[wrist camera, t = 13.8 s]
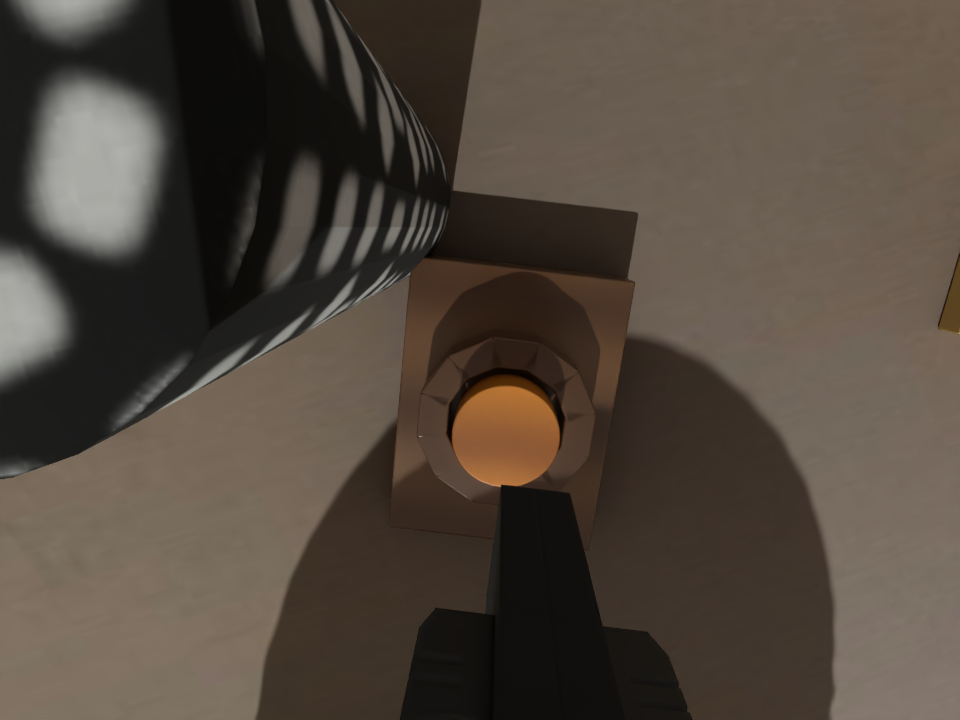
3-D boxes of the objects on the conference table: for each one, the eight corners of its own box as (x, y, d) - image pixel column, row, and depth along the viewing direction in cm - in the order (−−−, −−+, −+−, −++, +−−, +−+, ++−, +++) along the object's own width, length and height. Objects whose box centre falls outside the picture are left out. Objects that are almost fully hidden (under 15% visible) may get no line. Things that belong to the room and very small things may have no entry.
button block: (418, 252, 25) (404, 257, 21) (624, 277, 25) (647, 286, 21) (396, 504, 28) (379, 548, 24) (582, 526, 28) (595, 575, 24)
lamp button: (460, 367, 23) (457, 378, 21) (562, 379, 23) (567, 392, 21) (450, 462, 24) (446, 481, 22) (548, 474, 24) (552, 493, 22)
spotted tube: (237, 254, 26) (-591, 338, 6) (285, 60, 24) (-673, -687, 4) (415, 317, 26) (163, 584, 7) (477, 130, 24) (381, -273, 5)
